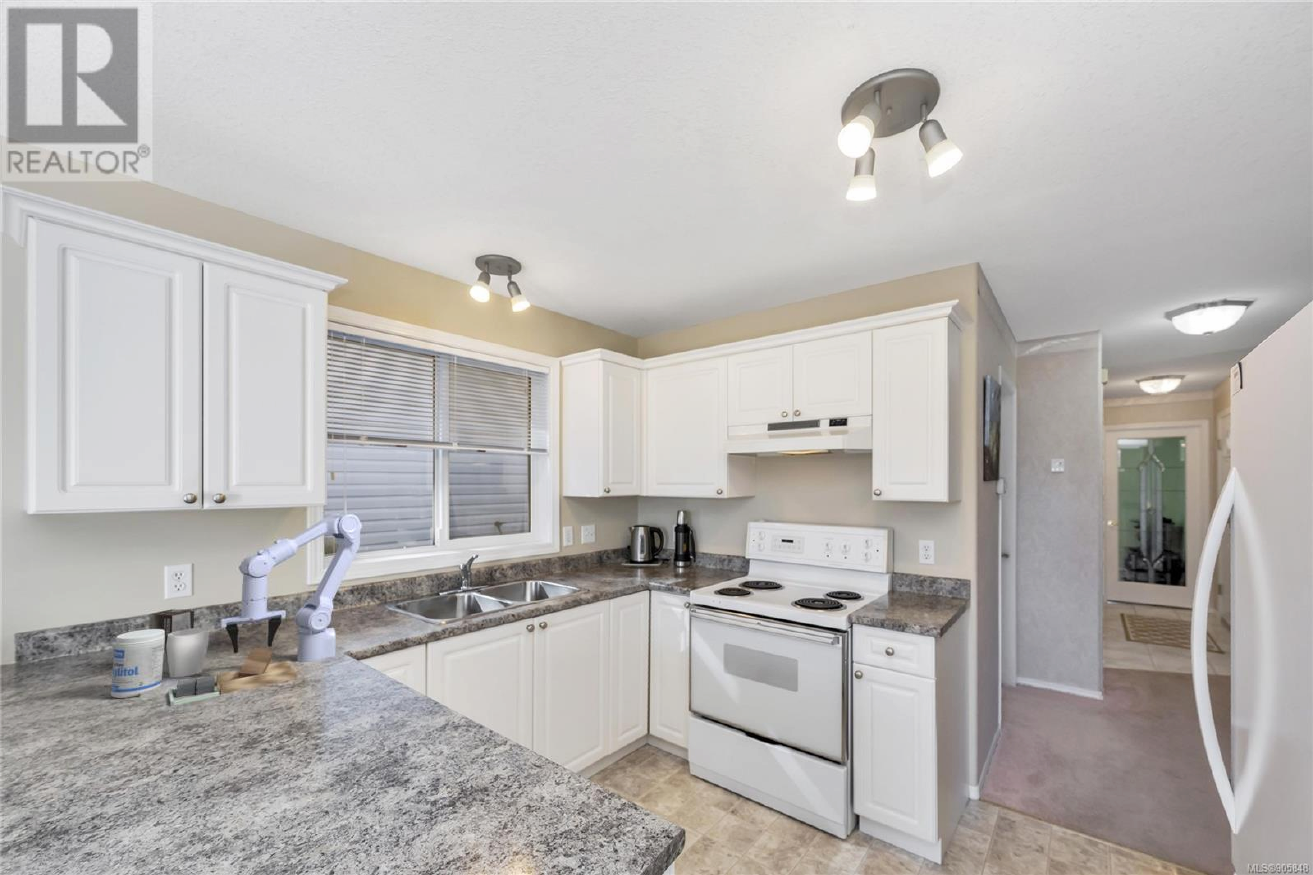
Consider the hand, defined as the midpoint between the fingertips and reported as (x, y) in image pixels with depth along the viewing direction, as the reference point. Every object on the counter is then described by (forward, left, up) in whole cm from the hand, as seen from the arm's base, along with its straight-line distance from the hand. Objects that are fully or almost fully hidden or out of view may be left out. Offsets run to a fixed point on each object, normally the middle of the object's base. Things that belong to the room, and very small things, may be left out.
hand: (252, 649), depth 154 cm
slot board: (0, +9, -7) cm, 12 cm away
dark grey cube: (+14, +7, -7) cm, 17 cm away
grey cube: (+11, +9, -7) cm, 15 cm away
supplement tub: (+23, -7, -8) cm, 25 cm away
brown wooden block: (+2, +10, -5) cm, 11 cm away
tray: (+13, +9, -7) cm, 17 cm away
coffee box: (+16, -25, -8) cm, 31 cm away
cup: (+13, -13, -8) cm, 20 cm away
